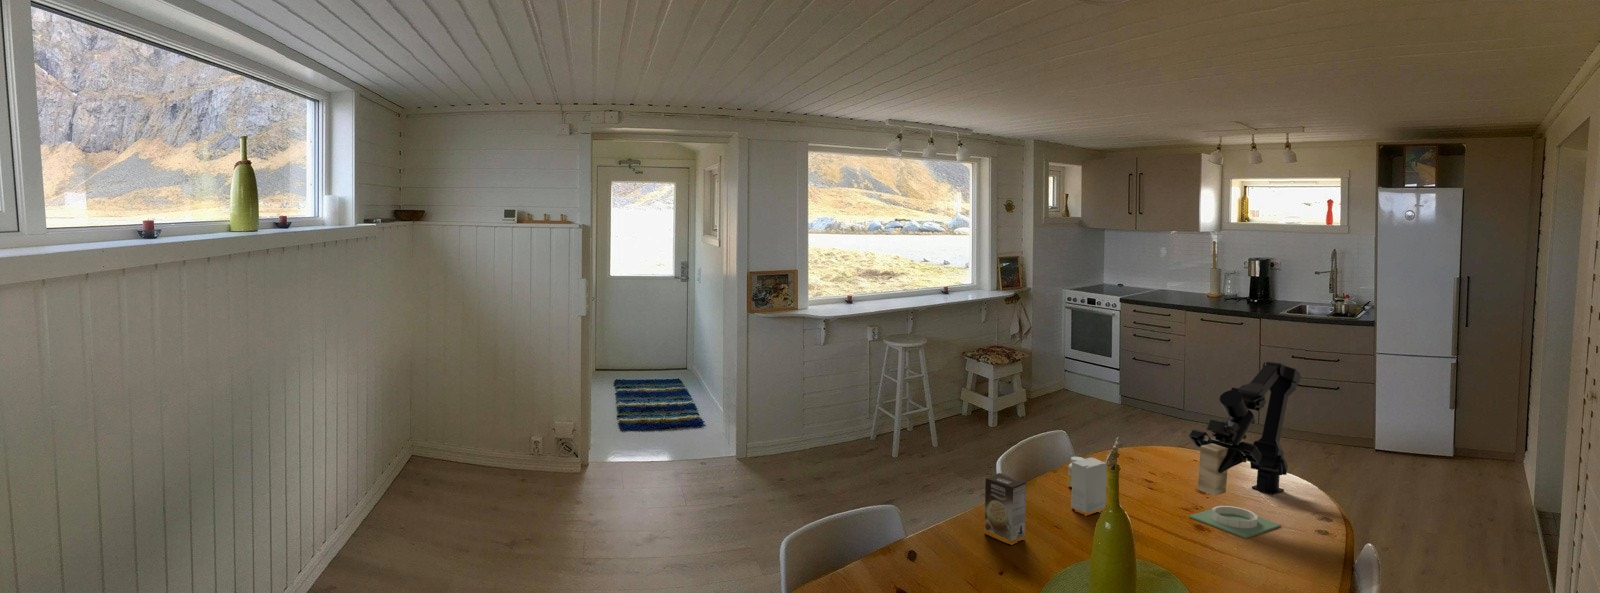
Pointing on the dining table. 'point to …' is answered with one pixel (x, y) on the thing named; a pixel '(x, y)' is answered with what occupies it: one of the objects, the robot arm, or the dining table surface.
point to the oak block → (1212, 469)
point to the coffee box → (1005, 506)
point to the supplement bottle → (1073, 459)
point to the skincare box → (1088, 485)
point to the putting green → (1235, 521)
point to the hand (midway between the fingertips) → (1210, 469)
